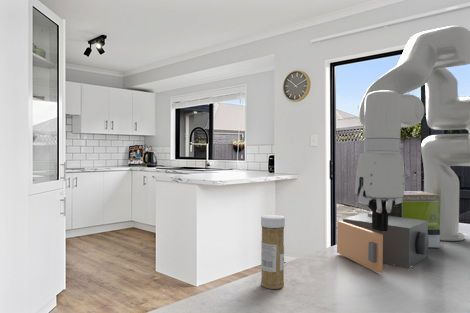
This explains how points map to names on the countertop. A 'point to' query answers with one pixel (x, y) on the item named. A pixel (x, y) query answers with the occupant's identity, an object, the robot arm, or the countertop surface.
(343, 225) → the door
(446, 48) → the robot arm
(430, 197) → the tea box
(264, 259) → the sprinkles bottle
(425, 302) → the countertop surface
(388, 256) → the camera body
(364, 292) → the countertop surface
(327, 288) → the countertop surface
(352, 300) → the countertop surface
